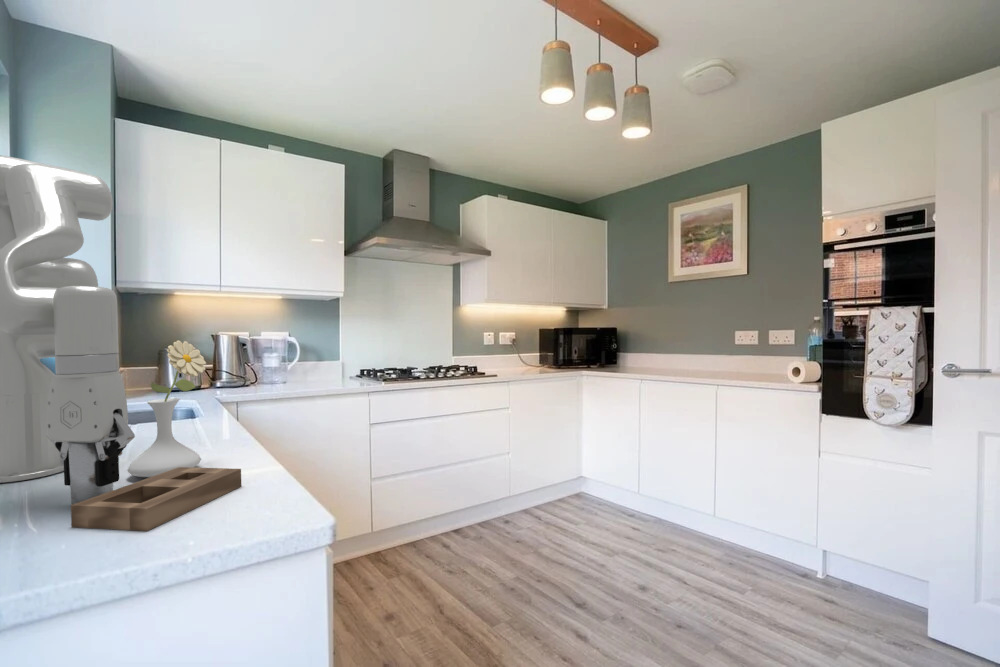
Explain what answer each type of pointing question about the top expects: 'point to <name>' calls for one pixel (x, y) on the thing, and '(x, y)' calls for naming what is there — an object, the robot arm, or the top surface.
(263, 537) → the top surface
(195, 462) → the flower in vase
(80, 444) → the grey metal block
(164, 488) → the wooden compartment tray
